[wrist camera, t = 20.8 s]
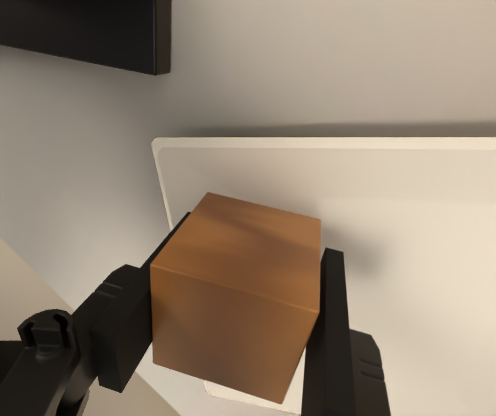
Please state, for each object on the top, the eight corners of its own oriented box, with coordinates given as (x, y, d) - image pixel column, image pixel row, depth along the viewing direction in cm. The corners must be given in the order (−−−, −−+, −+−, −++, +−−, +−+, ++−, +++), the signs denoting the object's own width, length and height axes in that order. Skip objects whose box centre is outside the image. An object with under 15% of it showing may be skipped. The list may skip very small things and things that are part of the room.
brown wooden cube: (200, 275, 15) (152, 364, 11) (207, 190, 13) (148, 264, 9) (294, 301, 15) (282, 406, 10) (321, 218, 12) (320, 312, 8)
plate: (679, 122, 10) (756, 139, 8) (493, 421, 19) (511, 461, 17) (168, 126, 14) (146, 139, 12) (214, 369, 23) (205, 397, 21)
